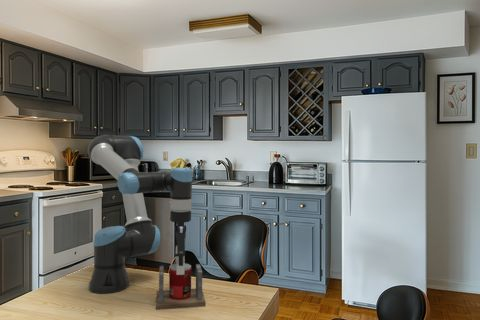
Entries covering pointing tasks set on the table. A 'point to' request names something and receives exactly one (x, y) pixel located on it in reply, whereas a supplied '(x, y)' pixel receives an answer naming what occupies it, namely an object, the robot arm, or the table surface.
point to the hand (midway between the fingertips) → (179, 268)
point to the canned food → (179, 283)
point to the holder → (193, 301)
